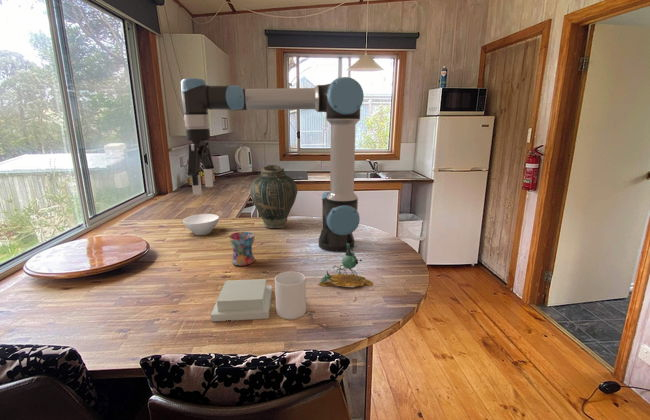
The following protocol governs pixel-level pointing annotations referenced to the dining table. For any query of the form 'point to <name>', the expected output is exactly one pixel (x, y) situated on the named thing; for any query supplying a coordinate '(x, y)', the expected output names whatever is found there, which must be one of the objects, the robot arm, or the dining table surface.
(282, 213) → the vase
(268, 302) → the plinth
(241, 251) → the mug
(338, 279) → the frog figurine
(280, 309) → the mug
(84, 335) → the dining table surface
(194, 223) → the bowl
